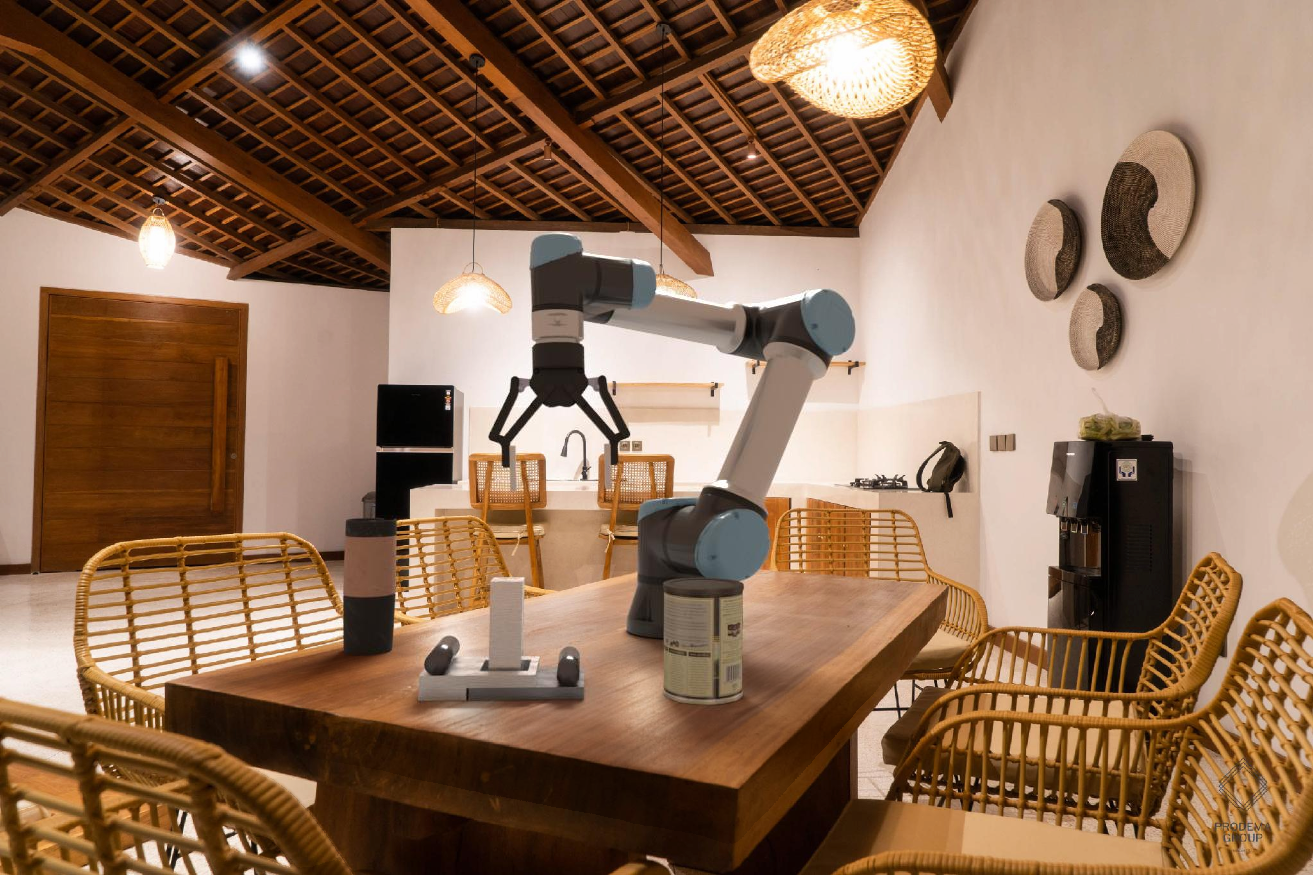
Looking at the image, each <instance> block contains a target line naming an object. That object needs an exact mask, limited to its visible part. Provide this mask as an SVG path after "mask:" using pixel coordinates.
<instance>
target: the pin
mask: <svg viewBox="0 0 1313 875" xmlns="http://www.w3.org/2000/svg"><path fill="white" fill-rule="evenodd" d="M525 578H526V577H523V576H521V577H519V576H518V577H517V576H516V577H509V576H507V577H502V576H501V577H500V576H497V577H492V579H491V580H490V583H489V584H490V585H489V597H490V598H489V633H488V657H489V671H523V656H524V636H525V635H524V633H525V628H524V627H525V585H526V583H525V580H526V579H525Z"/></svg>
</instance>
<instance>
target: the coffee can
mask: <svg viewBox="0 0 1313 875" xmlns="http://www.w3.org/2000/svg"><path fill="white" fill-rule="evenodd" d="M663 588H664V638H663V686H662V687H663V689H662V694H663V696H664V697H665V698H667V699H669V700H671V701H674V702H677V703H682V704H689V705H698V706H699V705H701V706H704V705H705V706H707V705H708V706H711V705H712V706H713V705H723V704H725V705H726V704H729V703H733V702H736V701H738V700H740V699H741V698H742V697H743V696H744V693H743V692H744V691H743V638H744V637H743V636H744V635H743V628H744V622H743V621H744V615H743V614H744V607H743V606H744V602H743V600H744V598H743V597H744V595H743V594H744V593H743V592H744V589H745V584H744V582H742V581H736V580H730V579H721V578H679V579H672V580H668V581H665V582H664V583H663Z"/></svg>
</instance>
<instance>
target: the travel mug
mask: <svg viewBox="0 0 1313 875" xmlns="http://www.w3.org/2000/svg"><path fill="white" fill-rule="evenodd" d="M397 522H398V520H397V518H394V519H392V520H391V519H390V520H385V519H384V518H381V517H360V518H359V517H358V518H347V519H346V520H345V536H344V538H345V539H344V558H343V586H342V588H343V589H342V594H343V595H342V610H343V611H342V614H343V615H342V619H343V620H342V622H343V624H342V626H343V629H342V634H343V636H342V637H343V638H342V640H343V648H342V649H343V652H344V653H345V654H347V655H354V656H370V655H378V654H379V655H380V654H385V653H388V652H390V651H392V649H393V647H394V646H393V642H394V629H395V612H396V610H395V609H396V593H397V592H396V590H397V589H396V588H397V584H396V582H397V539H398V537H397V535H398V534H397V529H398V526H397Z"/></svg>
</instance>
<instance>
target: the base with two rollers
mask: <svg viewBox="0 0 1313 875" xmlns="http://www.w3.org/2000/svg"><path fill="white" fill-rule="evenodd" d="M460 644H461V643H460V641H459V639H458V638H457V637H456V636H453V635H446V636H443V637H442V638H441V639H440V640H439V642H437V644H436V645H435V646H434V647H433V649H432V650H431V651H430V652H429V654H428V655H427V656H426V657H425V659H424V663H423V667H424V669H423V670H422V671H421V672H420V673H419V675H418V689H417V690H418V691H417V692H418V694H417V696H418V697H417V699H418V702H436V701H437V702H442V701H444V702H446V701H450V702H452V701H456V702H457V701H521V700H522V701H528V700H530V701H537V700H541V701H543V700H544V701H545V700H546V701H547V700H548V701H549V700H550V701H551V700H553V701H554V700H584V699H585V667H584V666H582V667H581V666H580V665H581V664H580V663H581V662H580V661H581V660H580V659H581V655H580V652H579V650H578V649H577V648H576V647H574V646H571V645H570V646H565V647H563V648H562V649H561V650H560V651H559V656H558V662H557V667H552V666H551V667H550V666H549V667H547V666H546V667H545V666H544V667H540V663H541V662H540V660H541V659H540V658H541V657H540V655H539V656H538V655H535V656H534V655H532V656H530V655H529V656H525V655H523V671H489V656H457V654H458V653H459V651H460V649H461V645H460ZM467 699H468V700H467Z"/></svg>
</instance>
